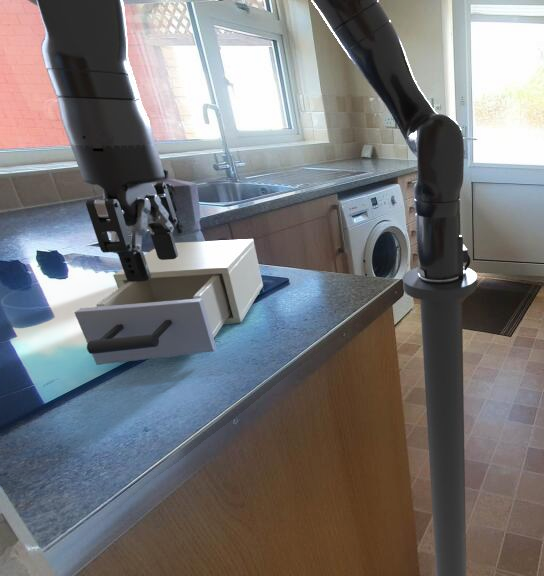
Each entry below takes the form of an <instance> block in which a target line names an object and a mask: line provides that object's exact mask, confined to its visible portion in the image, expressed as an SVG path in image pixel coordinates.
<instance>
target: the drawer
mask: <svg viewBox="0 0 544 576" xmlns="http://www.w3.org/2000/svg"><path fill="white" fill-rule="evenodd" d="M231 312H232V311H231V307H230V303H229V299H228V295H227V291H226V287H225V283H224V279H223V276H222V273H221V274H206V275H192V276H177V277H163V278H149V279H148V280H146V281H137V282H130V281H129V282H128V283H126V284H125V285H123V286H122V287H120V288H119V289H118V288H117V289H116V290H115V291H113V292H112V293H110V294H109V295H108V296H106V297H105V298H103V299H102V300H101V301H99V302H98V303H96V304H95V306H92V307H80V308H78V309H77V310H75V311H74V312H73V313H74V315H75V317H76V320H77V322H78V324H79V327H80V329H81V331H82V334H83V336H84V338H85V342H86V350H87V352H88V353H89V354H91V355H92V358H93V361H94V362H95V365H96V366H101V365H108V364H115V363H116V364H118V363H125V362H134V361H143V360H144V361H145V360H153V359H159V358H169V357H176V356H177V357H178V356H185V355H195V354H202V353H204V354H205V353H211V352H214V351H215V350H216V348H217V346H216V341H215V337H216V336H217V334H218V333H219V331H220V330H221V328H222V326H223V325H225V324H224V322H225V321H226V319H227V318H228V317H229V315H230V314H231Z"/></svg>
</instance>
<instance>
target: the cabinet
mask: <svg viewBox="0 0 544 576" xmlns="http://www.w3.org/2000/svg"><path fill="white" fill-rule="evenodd" d="M175 245H176V249H177V252H178V257H177V258H175V259H170V260H160V259H159V258H158V257H157V253H156V250H155V248H152V250H150V251H149V252H147V253H144V256H145V259H146V262H147V265H148V268H149V271H150V274H151V277H150V278H163V277H177V276H192V275H206V274H221V273H222V276H223V279H224V283H225V287H226V291H227V295H228V299H229V303H230V307H231V311H232V312H231V314H230V315H229V317H228V318H227V319H226V321H225V322H224V324H223V325H229V324H230V325H232V324H241V323H242V322H243V320H244V319H245V317H246V315H247V314H248V312H249V310H250V309H251V307H252V305H253V304H254V302H255V300H256V298H257V297H258V295H259V294H260V292H261V290H262V289H263V287H264V282H263V279H262V272H261V269H260V265H259V260H258V256H257V250H256V245H255V242H254V239H253V238H248V239H247V238H246V239H229V240H228V239H227V240H207V241H206V240H205V241H203V242H182V243H175ZM112 276H113V278H114V281H115V284H116V286H117V290H118V289H119V288H120V287H122V286H123V285H125V284H126V283H128V282H129V281H128V280H127V279H126V276H125V273H124V270H123V268H122V269H120V270H118V271H117V272H115V273H114V274H113V275H112Z"/></svg>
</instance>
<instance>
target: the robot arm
mask: <svg viewBox="0 0 544 576" xmlns="http://www.w3.org/2000/svg"><path fill="white" fill-rule="evenodd" d="M27 1H28V2H30V3H31V4H33V5H34V6H37V7H38V10H39V15H40V17H41V22H42V25H43V28H44V37H43V39H42V41H41V43H40V44H41V46H40V49H41V50H40V51H41V56H42V60H43V64H44V66H45V69H46V73H47V75H48V78H49V80H50V83H51V86H52V89H53V92H54V94H55V97H56V101H57V104H58V109H59V116H60V120H61V123H62V126H63V129H64V131H65V134H66V137H67V140H68V142H69V146H70V147H71V151H72V154H73V156H74V159H75V161H76V165H77V167H78V170H79V172H80V175H81V178H82V180H83V182H85V183H86V184H89V185H95V186H96V185H97V186H98V187H100V188H101V189H102V196H103V197H102V199H98V198H97V199H87V200H86V201H85V206H86V210H87V212H88V216H89V219H90V222H91V225H92V227H93V231H94V234H95V237H96V240H97V244H98V247H99V249H100V251H101V252H102V253H104V254H105V253H106V254H107V253H113V254H117V256H118V259H119V262H120V265H121V268H122V269H123V270H124V273H125V276H126V279H127V280H128V281H130V282H137V281H146V280H148V279H149V278H150V277H151V274H150V271H149V268H148V265H147V262H146V259H145V256H144V255H145V253H144V251H143V250H142V245H143V244H142V243H143V242H142V241H143V240H142V239H143V236H145V235H146V234H147V233H148V231H149V232H150V233H151V234H150V237H151V241H152V244H153V247H154V249H155V250H156V253H157V257H158V258H159V259H160V260H170V259H175V258H177V257H178V252H177V249H176V245H175V242H174V239H173V235H172V233H171V232H173V230H174V227H173V224H177V217H176V214H175V211H174V208H173V205H172V202H171V198H170V195H169V192H168V189H167V186H166V184H165V183H152V182H157V181H160V180H163V179H164V177H165V174H164V171H163V170H164V168H163V164H162V160H161V157H160V154H159V150H158V146H157V144H156V140H155V136H154V132H153V130H152V126H151V123H150V120H149V117H148V116H147V115H148V114H147V113H146V111H145V109H144V106H143V103H142V101H141V97H140V93H139V91H138V86H137V84H136V80H135V76H134V74H133V70H132V67H131V65H130V61H129V57H128V35H127V25H126V15H125V6H124V0H27ZM310 1H311V2H312V4H313V5H314V6H315V8H316V9H317V10H318V12H319V14H320V16H321V17H322V18H323V20H324V21H325V23H326V24H327V26H328V28H329V29H330V31H331V32H332V33H333V35H334V37H335V38H336V39H337V41H338V43H339V44H340V45H341V47H342V49H343V50H344V51H345V53H346V55H347V56H348V57H349V59H350V60H351V62H352V63H353V64H354V65H355V67H356V68H357V69H358V71H359V73H361V75H362V76H363V77H364V79H365V80H366V82H367V83H368V85H369V86H370V87H371V88H372V89H373V91H374V92H375V93H376V95H377V96H378V97H379V98H380V100H381V101H382V102H383V104H384V105H385V107H386V109H387V110H388V112H389V113H390V115H391V117H392V119H393V121H394V123H395V124H396V126H397V127H398V130H399V131H400V133H401V135H402V136H403V139H404V140H405V142H406V144H407V146H408V148H409V150H410V151H411V152H412V154H413V155H414V156H415V157H416V161H417V162H416V163H417V178H416V181H415V184H414V185H413V196H414V197H413V198H414V215H415V216H414V217H415V229H416V230H415V231H416V248H417V264H418V265H417V267H416V268H417V271H418V275H419V279H420V280H421V281H423V282H426V283H430V284H447V283H452V282H455V281H458V280H463V279H464V277H463V270H465V271H466V270H467V268H469V266H470V265H471V256H470V255H469V250H468V248H467V247H466V246H465V245H464V237H463V236H462V234H461V233H462V231H461V230H462V229H461V190H462V188H463V184H464V169H465V168H464V166H465V165H464V164H465V142H464V141H465V140H464V135H463V132H462V129H461V127H460V125H459V124H458V122H457V121H456V120H455V119H454V118H452V117H451V116H449V115H446V114H442V113H437V112H436V111H435V109H434V108H433V107H432V105H431V103H430V102H429V101H428V100H427V98H426V96H425V95H424V93H423V92H422V91H421V89H420V87H419V85H418V84H417V81H416V80H415V77H414V75H413V72H412V69H411V67H410V64H409V60H408V57H407V55H406V51H405V49H404V46H403V44H402V41H401V39H400V36H399V34H398V32H397V30H396V28H395V27H394V24H393V23H392V21H391V19H390V17H389V15H388V14H387V13H386V11H385V9H384V7H383V6H382V4H381V2H380V1H379V0H310ZM165 209H166V210H165ZM108 233H109V234H110V237H109V235H108ZM130 236H131V237H130ZM464 264H465V265H464ZM463 267H464V269H463Z"/></svg>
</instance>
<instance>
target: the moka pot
mask: <svg viewBox="0 0 544 576" xmlns="http://www.w3.org/2000/svg"><path fill="white" fill-rule="evenodd" d="M163 171H164V174H165V177H164V179H163V180H160V181H157V182H152V183H165V184H166V186H167V189H168V192H169V195H170V198H171V202H172V205H173V208H174V211H175V214H176V217H177V224H173V227H174V230H173V232H171V233H172V235H173V239H174V242H175V243H182V242H203V241H206V239H205V237H204V235H203V232H202V231H201V223H200V221H201V219H202V217H201V210H200V209H201V208H200V207H201V206H200V197H199V188H198V184H197V183H196V182H191V181H186V180H180V179H173V178H169V170H166V169H163ZM165 210H166V209H165Z"/></svg>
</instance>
